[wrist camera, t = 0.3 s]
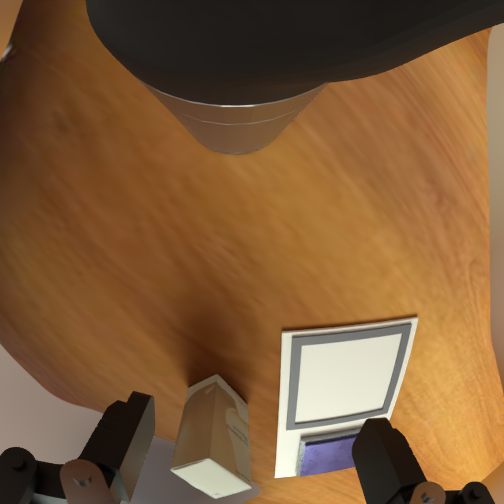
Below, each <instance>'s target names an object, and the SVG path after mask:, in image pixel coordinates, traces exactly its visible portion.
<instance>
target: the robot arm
mask: <svg viewBox="0 0 504 504" xmlns="http://www.w3.org/2000/svg"><path fill="white" fill-rule="evenodd" d="M86 7H87V13H88V16H89V20H90V23H91V25H92V27H93V29H94V31H95V33H96V35H97V36H98V38H99V39H100V41H101V42H102V43H103V45H104V46H105V47H106V48H107V49H108V50H109V51H110V53H111V54H112V55H113V56H114V57H115V58H116V59H117V60H118V61H119V62H120V63H121V64H122V65H123V66H124V67H125V68H126V69H127V70H129V71H130V72H131V73H132V74H133V75H134V76H135V77H136V78H137V79H138V80H139V81H140V82H141V83H142V84H143V85H144V86H145V87H146V88H147V89H148V90H149V91H150V92H151V93H152V94H154V95H155V96H156V97H157V98H158V100H159V101H160V102H161V103H162V104H163V105H164V106H165V107H166V108H167V109H168V110H169V111H170V112H171V113H172V114H173V115H174V116H175V117H176V118H177V119H178V120H179V121H180V122H181V123H182V124H183V125H184V126H185V127H186V129H187V130H188V131H189V132H190V133H191V134H192V135H193V136H194V137H195V138H196V139H197V140H198V141H199V142H201V143H202V144H203V145H204V146H206V147H208V148H210V149H212V150H214V151H216V152H220V153H224V154H232V155H239V154H247V153H251V152H254V151H257V150H259V149H261V148H263V147H264V146H266V145H268V144H269V143H270V142H271V141H272V140H274V139H275V138H276V137H277V136H278V135H279V134H280V133H281V132H282V131H283V130H284V129H285V128H286V127H287V126H288V124H289V123H290V122H291V121H292V120H293V119H294V118H295V117H296V116H297V115H298V114H299V113H300V112H301V111H302V110H303V109H304V108H305V107H306V106H307V105H308V104H309V103H310V102H311V101H312V100H313V99H314V98H315V97H316V96H317V95H318V94H319V93H320V92H321V91H322V89H323V88H324V87H325V86H326V85H327V84H328V83H329V82H339V81H347V80H353V79H359V78H364V77H368V76H373V75H377V74H380V73H382V72H385V71H388V70H391V69H394V68H396V67H398V66H400V65H403V64H405V63H408V62H410V61H412V60H414V59H416V58H418V57H420V56H422V55H424V54H426V53H429V52H431V51H433V50H435V49H437V48H440V47H442V46H444V45H447V44H449V43H451V42H454V41H456V40H459V39H461V38H463V37H466V36H468V35H471V34H474V33H476V32H479V31H482V30H484V29H487V28H490V27H492V26H495V25H498V24H501V23H504V0H86ZM154 430H155V409H154V397H153V396H151V395H147V394H143V393H140V392H136V391H133V392H132V394H131V395H130V397H129V399H128V401H127V403H126V402H122V401H119V400H117V401H116V402H115V403H113V404H112V405H110V406H109V407H107V409H106V411H105V413H104V414H103V417H102V419H101V420H100V421H99V423H98V425H97V427H96V428H95V430H94V432H93V433H92V435H91V437H90V439H89V441H88V442H87V444H86V446H85V447H84V449H83V451H82V453H81V455H80V456H79V457H78V458H77V459H75V460H71V461H68V462H67V463H65V464H53V463H47V462H41V461H37V460H35V458H34V456H33V455H32V454H31V453H30V452H29V451H27V450H26V449H23V448H20V447H12V448H8V449H6V450H5V451H4V452H3V453H2V454H1V456H0V504H120V502H121V500H123V501H126V502H130V501H131V498H132V495H133V492H134V489H135V486H136V484H137V481H138V478H139V475H140V472H141V469H142V466H143V464H144V461H145V458H146V455H147V452H148V449H149V447H150V444H151V441H152V438H153V435H154ZM352 458H353V461H354V464H355V467H356V470H357V474H358V477H359V480H360V483H361V487H362V490H363V493H364V496H365V500H366V503H367V504H495V503H494V501H493V499H492V497H491V495H490V493H489V491H488V490H487V487H486V486H485V485H483V484H482V483H480V482H470V483H468V484H466V485H465V487H464V488H463V489H462V490H454V491H444V489H443V488H442V487H441V486H440V485H439V484H437V483H434V482H428V481H427V480H426V478H425V476H424V474H423V472H422V469H421V467H420V465H419V463H418V462H417V460H416V458H415V456H414V455H413V452H412V450H411V448H410V447H409V444H408V442H407V440H406V438H405V436H404V435H403V434H402V433H400V432H399V431H398V430H397V429H396V428H395V429H393V428H392V426H391V424H390V422H389V420H388V419H387V418H386V417H381V418H368V419H367V420H366V421H365V422H364V424H363V426H362V428H361V430H360V432H359V433H358V435H357V437H356V439H355V441H354V442H353V445H352Z"/></svg>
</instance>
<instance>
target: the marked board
mask: <svg viewBox="0 0 504 504" xmlns="http://www.w3.org/2000/svg"><path fill="white" fill-rule="evenodd" d="M417 322H418V317H411V318H404V319H398V320H390V321H383V322H375V323H367V324H359V325H349V326H340V327H329V328H318V329H306V330H292V331H282V336H281V367H280V391H279V412H278V431H277V448H276V463H275V478H281V477H290V476H296V473H295V469H296V463H297V457H298V450H299V443H300V437H303V436H310V435H318V434H324V433H330V432H336V431H342V430H347V429H352V428H357V427H362V426H363V424H364V422H365V421H366V420H367V419H368V418H381V417H386V418H387V419H388V420H390V417H391V414H392V411H393V408H394V406H395V403H396V400H397V397H398V394H399V390H400V387H401V384H402V381H403V377H404V374H405V371H406V367H407V363H408V360H409V356H410V352H411V348H412V344H413V340H414V336H415V331H416V327H417Z"/></svg>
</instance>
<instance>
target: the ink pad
mask: <svg viewBox="0 0 504 504" xmlns="http://www.w3.org/2000/svg"><path fill="white" fill-rule="evenodd" d="M361 428H362V427H357V428H352V429H347V430H342V431H336V432H330V433H324V434H318V435H310V436H303V437H300V443H299V450H298V457H297V463H296V469H295V473H296V476H300V477H301V476H308V475H315V474H321V473H327V472H332V471H337V470H342V469H347V468H352V467H355V464H354V461H353V458H352V445H353V442H354V441H355V439H356V437H357V435H358V433H359V432H360V430H361Z"/></svg>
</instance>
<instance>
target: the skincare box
mask: <svg viewBox="0 0 504 504" xmlns="http://www.w3.org/2000/svg"><path fill="white" fill-rule="evenodd" d="M171 471H172V472H174V473H176V474H177V475H178V476H180V477H181V478H182V479H184V480H186V481H187V482H188V483H190V484H191V485H192V486H194V487H196V488H198V489H200V490H201V491H203V492H205V493H206V494H208V495H210V496H211V497H213V498H215V499H216V498H219V497H224V496H228V495H231V494H235V493H238V492H241V491H245V490H248V489H251V488H252V485H251V466H250V441H249V417H248V405H247V404H246V403H245V402H244V401H243V400H242V399H241V398H240V397H239V395H238V394H237V393H236V392H235V391H234V390H233V389H232V388H231V387H230V386H229V385H228V384H227V383H226V382H225V381H224V380H223V379H222V378H221V377H220V376H219V375H218V374H215V375H213V376H211V377H209V378H207V379H205V380H203V381H201V382H199V383H197V384H195V385H193V386H191V387H189V388H188V392H187V397H186V401H185V405H184V410H183V414H182V419H181V423H180V427H179V432H178V436H177V441H176V446H175V451H174V455H173V460H172V464H171Z"/></svg>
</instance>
